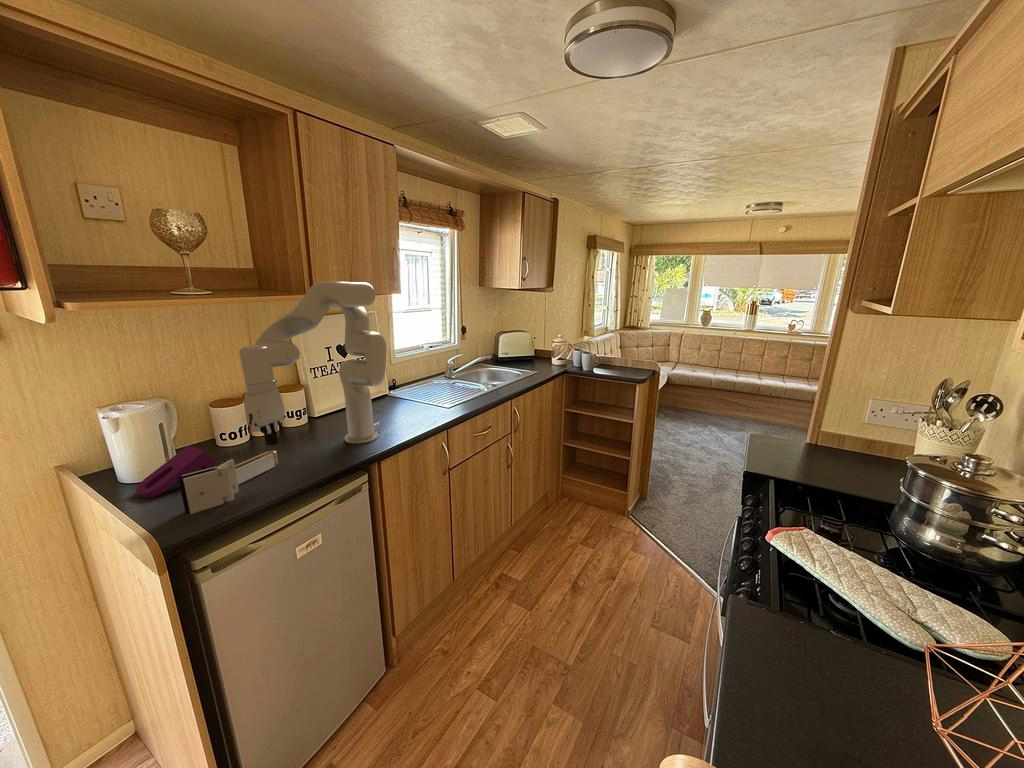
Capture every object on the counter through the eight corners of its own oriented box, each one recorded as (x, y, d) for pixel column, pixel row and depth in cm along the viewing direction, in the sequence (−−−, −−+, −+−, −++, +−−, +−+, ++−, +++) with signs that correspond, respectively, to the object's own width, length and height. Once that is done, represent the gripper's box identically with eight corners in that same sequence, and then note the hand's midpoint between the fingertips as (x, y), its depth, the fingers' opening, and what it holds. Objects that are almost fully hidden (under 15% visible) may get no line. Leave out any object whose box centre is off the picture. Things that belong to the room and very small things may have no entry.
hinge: (237, 490, 121) (232, 458, 119) (247, 495, 119) (242, 462, 116) (182, 511, 110) (175, 477, 107) (191, 517, 107) (184, 482, 105)
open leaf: (271, 466, 137) (270, 453, 136) (274, 466, 136) (272, 453, 135) (230, 486, 123) (227, 472, 122) (233, 487, 122) (231, 473, 121)
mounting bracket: (167, 515, 119) (221, 468, 131) (146, 497, 114) (204, 450, 127) (150, 507, 123) (204, 463, 135) (129, 490, 118) (187, 445, 130)
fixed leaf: (273, 462, 140) (271, 449, 139) (280, 463, 139) (278, 450, 138) (223, 486, 124) (220, 471, 123) (230, 487, 123) (228, 472, 122)
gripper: (272, 380, 129) (282, 433, 134) (228, 393, 116) (241, 452, 121) (291, 381, 127) (300, 436, 132) (248, 395, 113) (260, 455, 118)
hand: (272, 443), depth 126 cm, fingers closed
